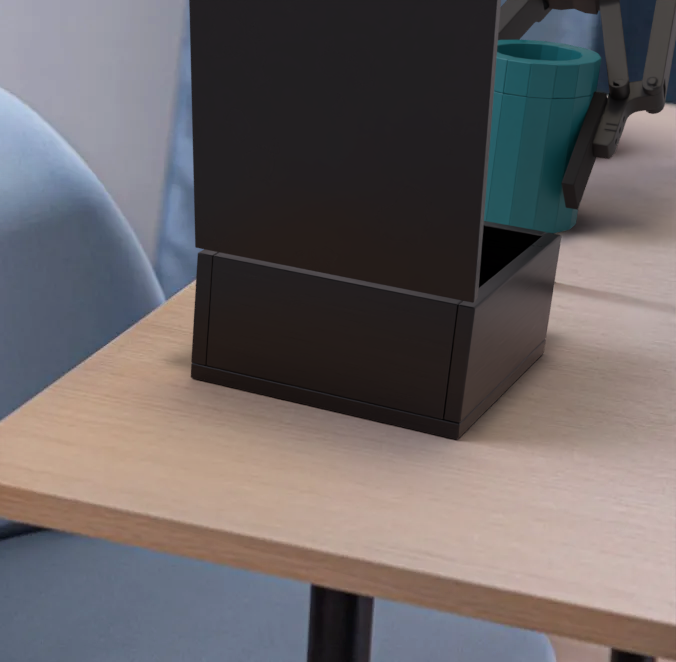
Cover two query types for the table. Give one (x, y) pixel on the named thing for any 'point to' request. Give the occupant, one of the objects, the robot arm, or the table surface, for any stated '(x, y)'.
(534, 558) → the table surface
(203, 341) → the chest
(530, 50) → the crock
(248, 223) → the chest lid
